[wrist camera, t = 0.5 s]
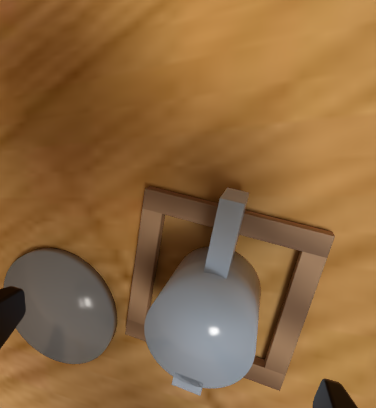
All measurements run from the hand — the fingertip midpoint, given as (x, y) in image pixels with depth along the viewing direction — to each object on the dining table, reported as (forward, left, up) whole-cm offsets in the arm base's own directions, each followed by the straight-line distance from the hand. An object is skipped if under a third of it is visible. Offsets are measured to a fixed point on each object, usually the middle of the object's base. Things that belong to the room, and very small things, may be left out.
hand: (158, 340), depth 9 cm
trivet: (-12, +13, -13) cm, 22 cm away
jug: (-4, 0, -13) cm, 14 cm away
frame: (-6, 0, -13) cm, 14 cm away
